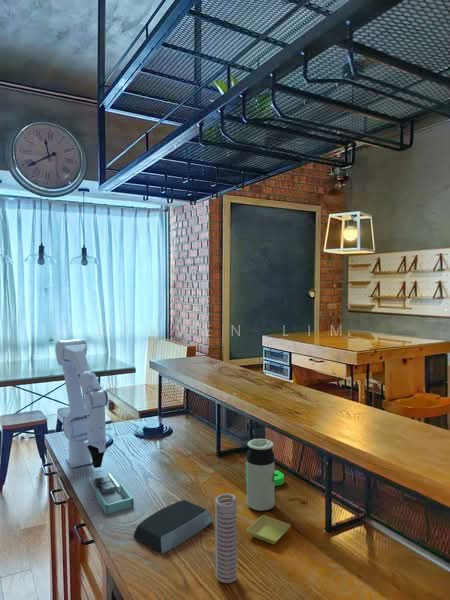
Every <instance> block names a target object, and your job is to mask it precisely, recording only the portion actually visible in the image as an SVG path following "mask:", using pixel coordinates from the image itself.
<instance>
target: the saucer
mask: <svg viewBox="0 0 450 600" xmlns="http://www.w3.org/2000/svg"><path fill="white" fill-rule="evenodd" d="M291 526H292V524H291V523H288V522H286V521H285V522H284V521H282V520H279V519H276V518H273V517H271V516H267V515H265V514H264V515H261V516H259V518H257V519H256V520H255V521H254V522H253V523H252V524H251V525H250V526H249V527H247V528H246V532H247V533H248V534H249V535H250V536H251V537H253V538H255V539H257V540H261V541H263V542H266V543H268V544H271V545H276V544H277V542H279V540H281V538H282V537H283V536H285V534H286V533H287V532H288V530H289V529H290V528H291Z"/></svg>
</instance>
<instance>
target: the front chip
mask: <svg viewBox="0 0 450 600" xmlns="http://www.w3.org/2000/svg"><path fill="white" fill-rule="evenodd" d="M99 490H100V493H101V494H102V496H104V495H108V494H112V493H115V492H116V489H115V486H114V485H113V483H112V482H107V483H103V484H99Z"/></svg>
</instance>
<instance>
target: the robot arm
mask: <svg viewBox="0 0 450 600" xmlns="http://www.w3.org/2000/svg"><path fill="white" fill-rule="evenodd" d="M54 351H55V358H56V363H57V365H59V366H61V367H62V372H63V377H64V382H65V383H64V384H65V388H66V394H67V400H68V406H69V412H68V413H67V414H66V415H65V417H63V434H64V436H65V439H67V440H68V456H66V458H65V459H66V461H67V463H68V464H69V465H68V466H69V467H70V468H76V467H81V466H86V465H90V464H92V465H93V468H94V469H97V468H101V467H102V464H103V459H104V455H105V452H106V451H107V448H108V446H107V437H106V433H107V432H106V406H107V405H108V403H109V397H108V392H107V390H106V389H105V388H104V387H103V386H101V385H100V382H99V380H98V378H97V376H96V373H94V372H93V371H91V370H90V367H89V363H88V359H87V351H88V344H87V341H86V340H85V339H84V338H83V337H82V338H76V339H67V340H57V342H56V343H55V350H54ZM82 392H83V393H82Z"/></svg>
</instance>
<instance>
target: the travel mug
mask: <svg viewBox="0 0 450 600" xmlns="http://www.w3.org/2000/svg"><path fill="white" fill-rule="evenodd" d="M247 446H248V450H247V452H246V463H247V484H246V505H247V506H248V507H249V508H251V509H253V510H255V511H262V512H263V511H267V510H271V509H273V508H274V506H275V486H274V471H275V453H274V451H273V447H274V442H273V441H271V440H269V439H265V438H254V439H251V440H249V441H248V442H247Z"/></svg>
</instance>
